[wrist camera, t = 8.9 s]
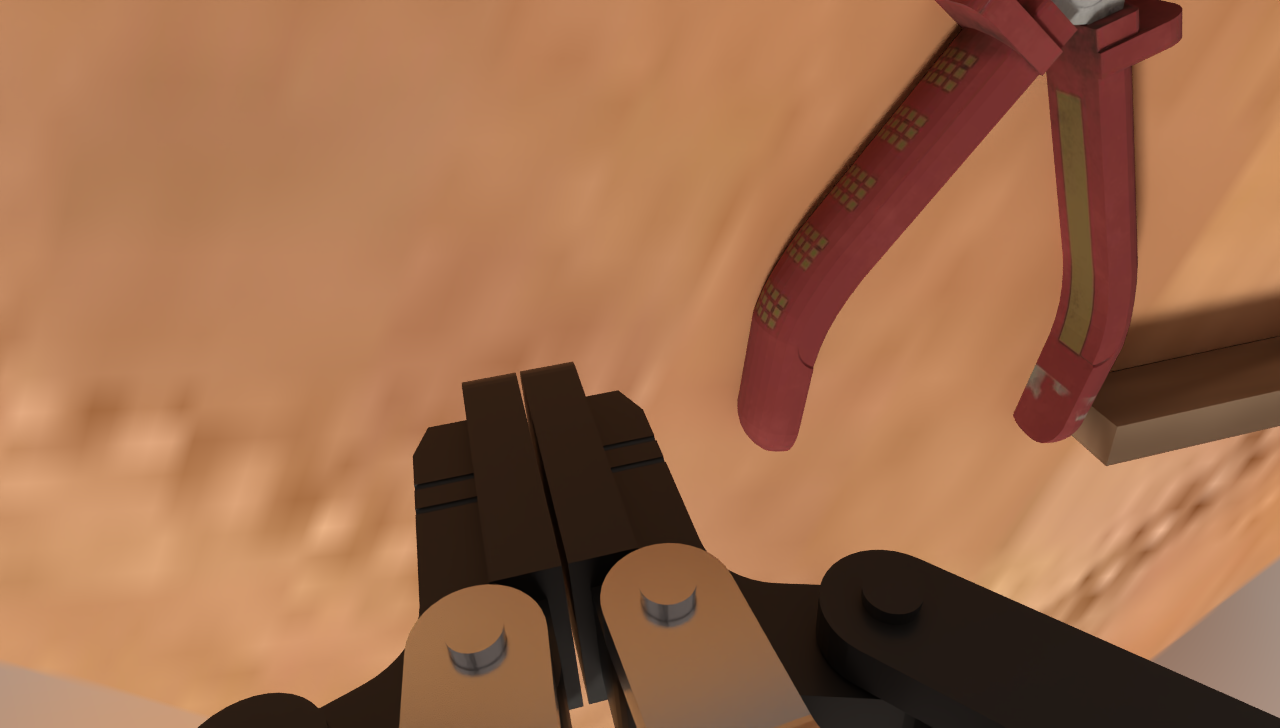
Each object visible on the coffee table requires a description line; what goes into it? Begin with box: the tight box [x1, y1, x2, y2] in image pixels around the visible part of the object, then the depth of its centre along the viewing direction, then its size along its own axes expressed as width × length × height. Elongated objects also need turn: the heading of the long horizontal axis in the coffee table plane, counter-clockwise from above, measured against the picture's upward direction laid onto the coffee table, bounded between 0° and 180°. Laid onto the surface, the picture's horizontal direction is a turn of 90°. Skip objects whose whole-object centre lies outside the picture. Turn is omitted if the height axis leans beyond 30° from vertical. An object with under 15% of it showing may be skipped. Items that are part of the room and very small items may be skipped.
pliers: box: [738, 0, 1182, 451], centre depth 21 cm, size 12×20×3 cm, turn 172°
